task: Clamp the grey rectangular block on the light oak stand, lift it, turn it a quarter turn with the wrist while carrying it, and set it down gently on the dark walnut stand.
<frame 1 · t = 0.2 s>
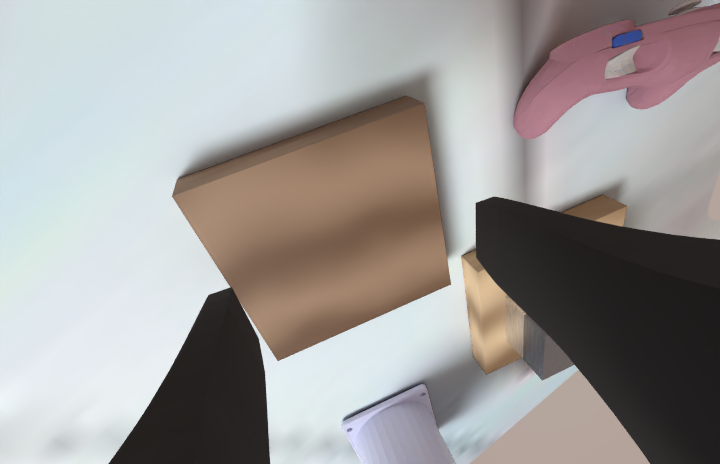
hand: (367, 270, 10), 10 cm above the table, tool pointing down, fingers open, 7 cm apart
video game controller: (577, 68, 21), on the table
walnut stand: (332, 231, 21), on the table
grey rectangular block: (550, 298, 28), point 2 cm above the table, touching oak stand
oak stand: (532, 282, 29), on the table
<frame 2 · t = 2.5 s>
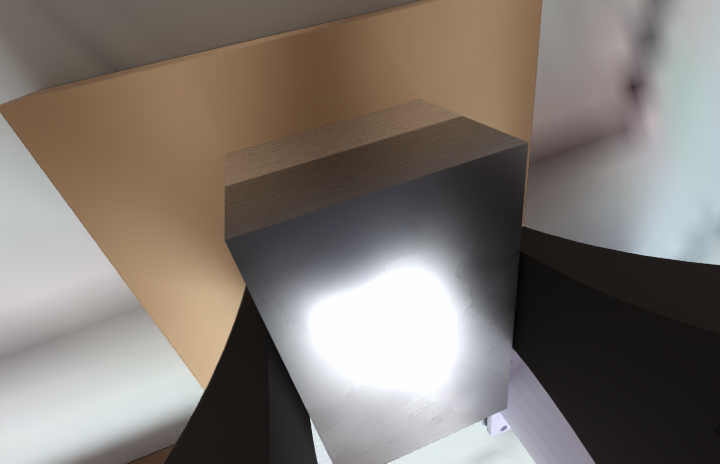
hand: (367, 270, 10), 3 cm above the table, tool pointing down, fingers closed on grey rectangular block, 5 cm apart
grey rectangular block: (357, 253, 11), point 2 cm above the table, touching gripper, oak stand
oak stand: (340, 223, 13), on the table
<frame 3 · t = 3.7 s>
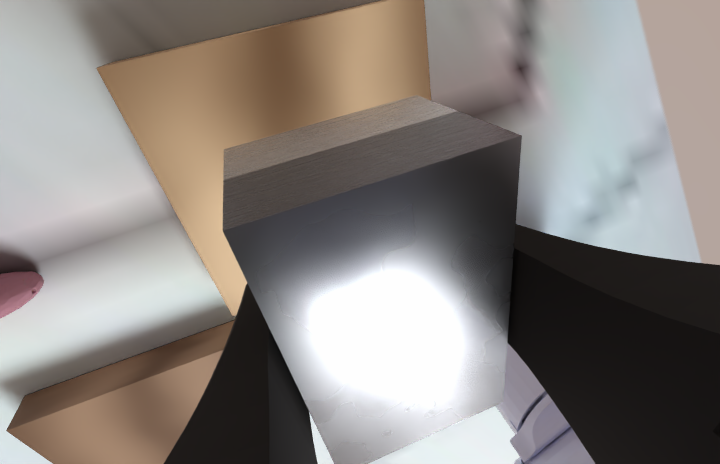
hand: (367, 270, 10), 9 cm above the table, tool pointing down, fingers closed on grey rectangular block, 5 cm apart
walnut stand: (187, 411, 24), on the table
grey rectangular block: (355, 248, 11), point 8 cm above the table, touching gripper
oak stand: (306, 163, 18), on the table
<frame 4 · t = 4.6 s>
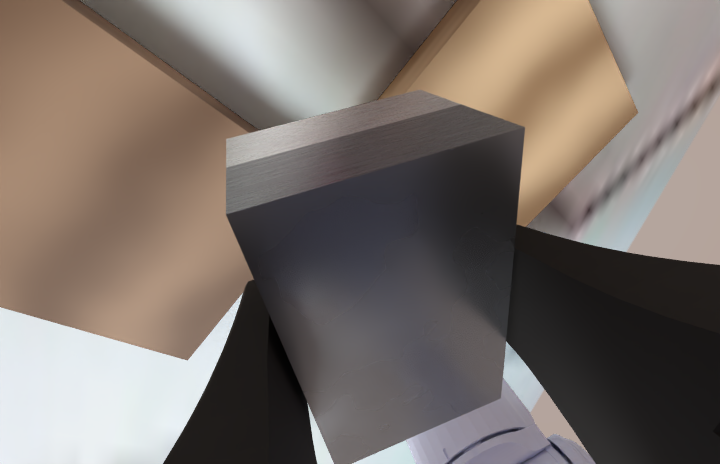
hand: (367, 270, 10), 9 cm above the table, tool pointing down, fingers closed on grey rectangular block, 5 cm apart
walnut stand: (136, 202, 16), on the table
grey rectangular block: (355, 243, 11), point 8 cm above the table, touching gripper
oak stand: (488, 122, 20), on the table
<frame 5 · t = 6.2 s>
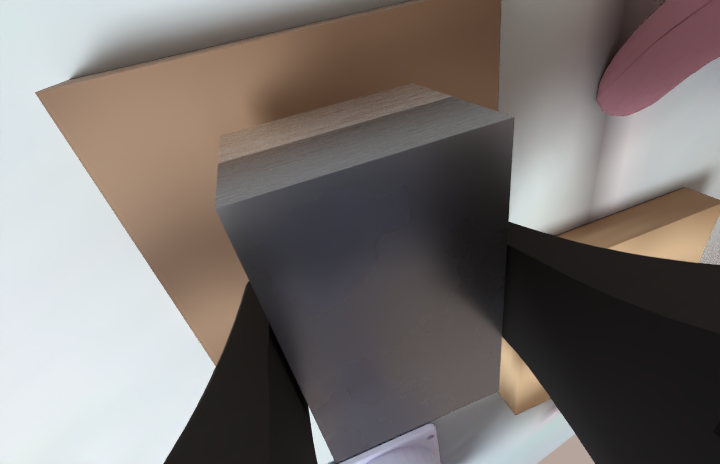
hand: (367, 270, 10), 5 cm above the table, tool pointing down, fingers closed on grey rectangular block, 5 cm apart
video game controller: (685, 26, 15), on the table
walnut stand: (329, 203, 14), on the table
grey rectangular block: (351, 238, 11), point 3 cm above the table, touching gripper
oak stand: (581, 298, 23), on the table
when the fingers open (4 cm above the table, at t = 7.1 s): grey rectangular block drops 1 cm, resting on walnut stand.
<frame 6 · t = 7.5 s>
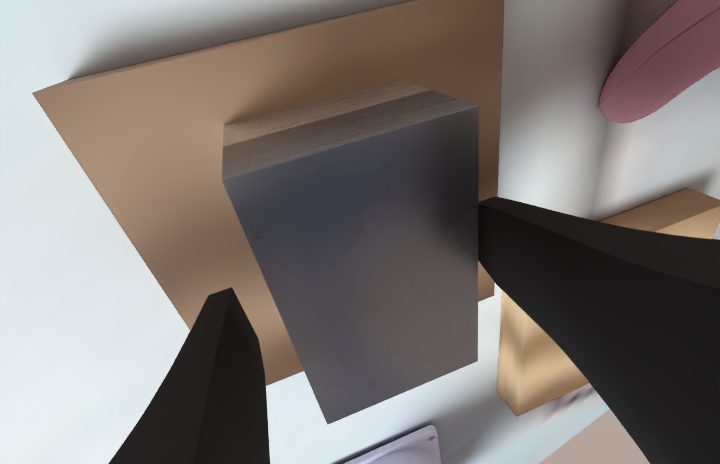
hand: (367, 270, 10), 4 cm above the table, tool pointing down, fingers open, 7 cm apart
video game controller: (687, 32, 15), on the table
walnut stand: (330, 204, 14), on the table
grey rectangular block: (343, 222, 12), point 2 cm above the table, touching walnut stand
oak stand: (582, 299, 23), on the table
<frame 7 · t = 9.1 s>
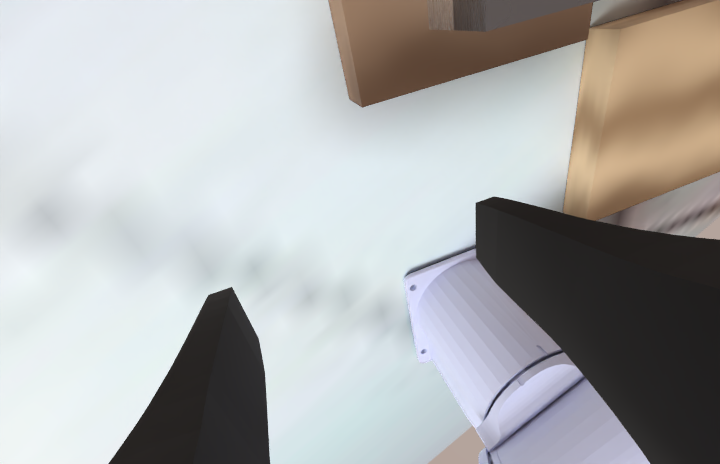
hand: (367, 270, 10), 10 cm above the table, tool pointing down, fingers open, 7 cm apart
oak stand: (649, 107, 24), on the table
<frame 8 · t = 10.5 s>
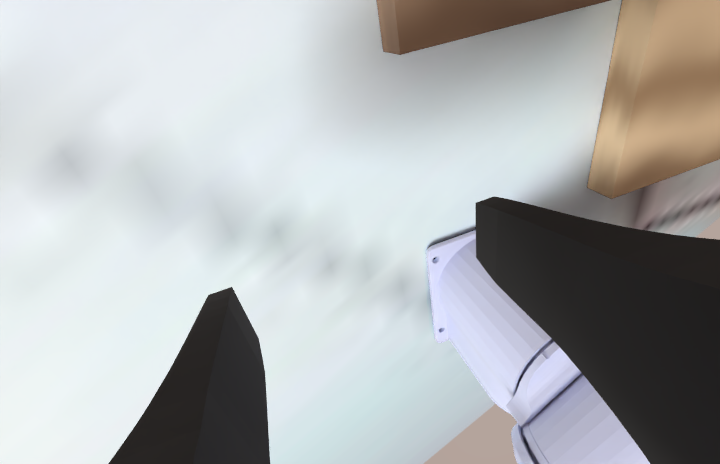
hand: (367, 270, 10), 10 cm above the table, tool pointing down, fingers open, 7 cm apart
oak stand: (678, 79, 23), on the table
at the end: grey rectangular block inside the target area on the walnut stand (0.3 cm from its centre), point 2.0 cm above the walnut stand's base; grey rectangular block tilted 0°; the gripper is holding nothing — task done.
